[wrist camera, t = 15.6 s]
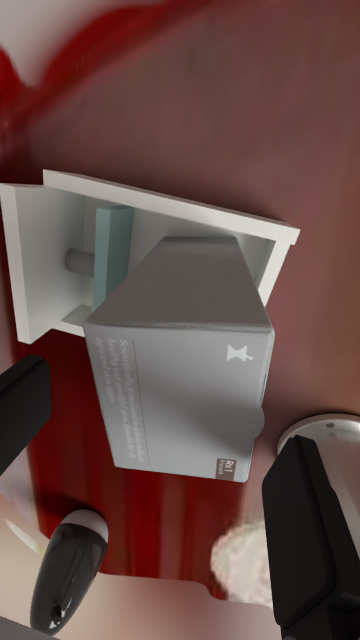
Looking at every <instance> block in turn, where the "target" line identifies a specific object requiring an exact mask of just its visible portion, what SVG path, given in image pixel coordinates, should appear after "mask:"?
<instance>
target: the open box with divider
mask: <svg viewBox="0 0 360 640" xmlns="http://www.w3.org/2000/svg"><path fill="white" fill-rule="evenodd" d="M43 182H44V185H29V184H8V183H0V199H1V207H2V215H3V223H4V231H5V239H6V247H7V255H8V263H9V271H10V279H11V287H12V295H13V303H14V311H15V319H16V327H17V335H18V341H20V342H24V343H27V344H31V343H33V342H34V341H35V340H37V339H38V338H39V337H41V336H42V335H43V334H44V333H46V332H47V331H48V330H50V329H51V328H54V329H57V330H61V331H65V332H68V333H72V334H75V335H79V336H83V337H85V335H84V331H83V327H82V323H83V322H84V321H85V320H86V319H87V318H88V317H89V316H90V315H91V314H92V311H93V286H94V278H93V277H89V276H85V275H81V274H77V273H73V272H69V271H68V270H67V269H66V266H65V259H66V255H67V253H68V251H69V250H70V249H72V248H74V249H78V250H82V251H86V252H90V253H94V254H95V237H96V212H97V208H100V207H109V206H119V205H125V206H129V207H133V208H134V214H133V224H132V233H131V243H130V252H129V261H128V271H127V276H128V275H129V274H130V272H131V271H132V270H133V269H134V268H135V267H136V266H137V265H138V264H139V263H140V262H141V261H142V260H143V258H144V257H145V256H146V255H147V254H148V253H149V252H150V251H151V250H152V249H153V248H154V247H155V246H156V244H157V243H158V242H159V241H160V240H161V239H162V238H163V237H177V236H190V237H236V238H237V240H238V243H239V246H240V248H241V250H242V253H243V255H244V258H245V260H246V263H247V265H248V268H249V270H250V273H251V275H252V278H253V280H254V282H255V285H256V287H257V289H258V292H259V295H260V297H261V300H262V302H263V305H264V307H265V306H266V303H267V301H268V298H269V296H270V293H271V291H272V288H273V286H274V283H275V281H276V278H277V276H278V273H279V271H280V269H281V266H282V264H283V261H284V259H285V256H286V254H287V251H288V249H289V246H290V244H292V245H294V244H295V242H296V240H297V237H298V235H299V232H300V229H298V228H296V227H294V226H292V225H290V224H288V223H286V222H282V221H278V220H274V219H269V218H265V217H261V216H257V215H252V214H248V213H244V212H240V211H235V210H231V209H227V208H222V207H218V206H214V205H210V204H205V203H201V202H197V201H193V200H188V199H184V198H180V197H175V196H171V195H167V194H163V193H158V192H154V191H150V190H146V189H141V188H137V187H133V186H128V185H124V184H120V183H116V182H111V181H107V180H103V179H99V178H94V177H90V176H86V175H82V174H75V173H68V172H60V171H53V170H45V169H43Z"/></svg>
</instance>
